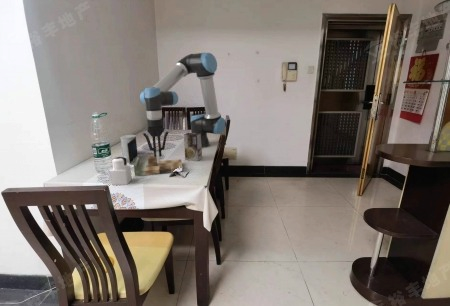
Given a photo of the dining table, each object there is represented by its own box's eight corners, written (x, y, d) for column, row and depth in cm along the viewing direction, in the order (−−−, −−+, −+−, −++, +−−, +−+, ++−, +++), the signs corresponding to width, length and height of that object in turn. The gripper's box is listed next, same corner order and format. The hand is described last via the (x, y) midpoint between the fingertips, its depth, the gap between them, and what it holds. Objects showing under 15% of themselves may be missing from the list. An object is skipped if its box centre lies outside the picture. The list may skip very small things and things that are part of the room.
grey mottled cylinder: (132, 156, 152) (130, 138, 149) (119, 156, 154) (116, 137, 151) (140, 152, 161) (138, 135, 158) (128, 152, 163) (125, 134, 160)
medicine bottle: (117, 179, 116) (113, 155, 112) (132, 178, 116) (129, 155, 113) (111, 185, 109) (107, 160, 105) (127, 184, 109) (124, 160, 106)
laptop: (151, 164, 138) (149, 143, 134) (129, 165, 137) (126, 143, 133) (156, 155, 155) (155, 136, 152) (137, 156, 154) (134, 137, 150)
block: (157, 163, 131) (156, 155, 130) (157, 165, 127) (156, 157, 126) (149, 164, 130) (148, 156, 129) (148, 166, 126) (147, 158, 125)
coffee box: (202, 158, 148) (201, 133, 144) (198, 161, 143) (197, 135, 138) (189, 157, 151) (188, 132, 147) (184, 159, 145) (183, 134, 141)
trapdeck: (181, 163, 139) (180, 154, 138) (182, 172, 125) (182, 162, 123) (138, 166, 134) (137, 157, 132) (134, 176, 120) (133, 165, 118)
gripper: (167, 117, 127) (170, 159, 133) (142, 118, 124) (146, 161, 130) (167, 119, 120) (170, 163, 126) (140, 120, 117) (145, 165, 123)
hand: (158, 162), depth 128 cm, fingers closed
